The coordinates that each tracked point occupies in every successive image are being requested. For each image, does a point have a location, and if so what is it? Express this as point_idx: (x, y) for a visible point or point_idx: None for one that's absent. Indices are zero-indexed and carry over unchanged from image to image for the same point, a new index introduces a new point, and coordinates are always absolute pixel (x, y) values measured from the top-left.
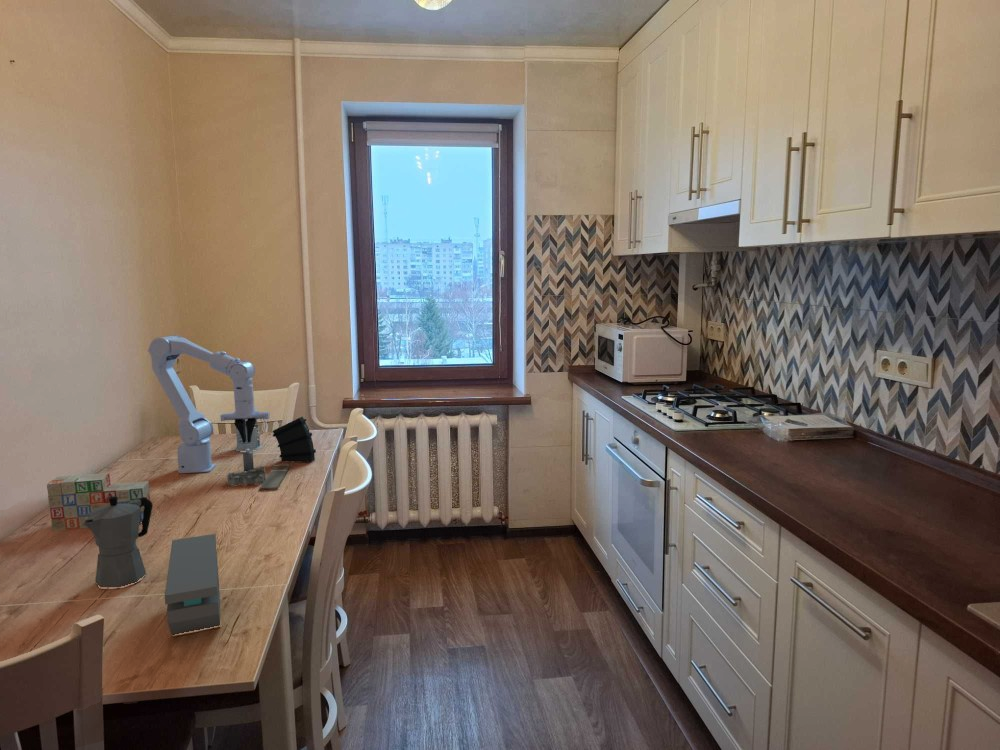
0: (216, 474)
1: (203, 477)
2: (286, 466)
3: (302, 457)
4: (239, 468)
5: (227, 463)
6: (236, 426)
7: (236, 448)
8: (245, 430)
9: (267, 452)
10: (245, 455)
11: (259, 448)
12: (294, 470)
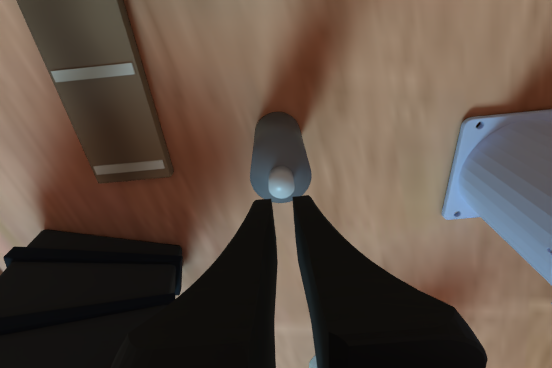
0: (424, 78)
1: (488, 25)
2: (95, 149)
3: (73, 247)
4: (331, 168)
5: (396, 236)
6: (413, 291)
7: None
8: (311, 321)
9: (279, 335)
10: (286, 143)
11: (315, 362)
12: (46, 116)
